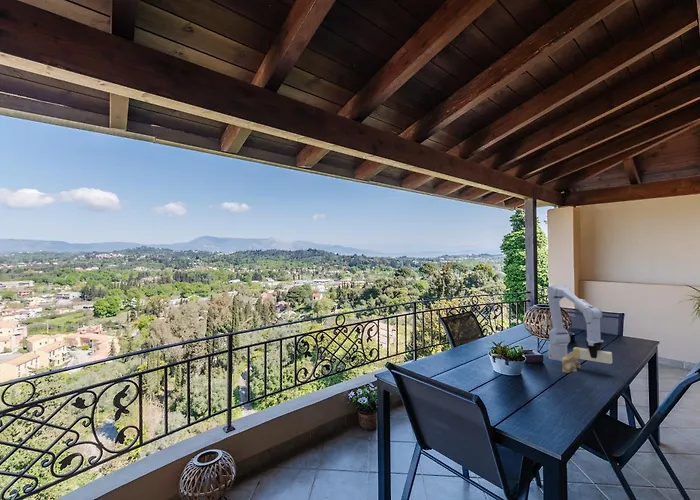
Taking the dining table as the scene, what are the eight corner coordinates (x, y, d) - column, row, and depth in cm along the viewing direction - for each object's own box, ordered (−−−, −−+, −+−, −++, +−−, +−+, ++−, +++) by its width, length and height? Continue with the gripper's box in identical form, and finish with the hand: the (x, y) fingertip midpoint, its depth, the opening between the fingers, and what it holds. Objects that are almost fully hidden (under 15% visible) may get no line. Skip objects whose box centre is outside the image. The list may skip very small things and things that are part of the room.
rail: (573, 357, 175) (572, 348, 175) (575, 356, 178) (574, 347, 178) (610, 363, 163) (610, 354, 164) (612, 362, 166) (611, 352, 166)
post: (562, 371, 173) (561, 358, 173) (571, 363, 185) (571, 351, 185) (573, 374, 169) (572, 360, 169) (582, 365, 181) (581, 353, 181)
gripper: (599, 334, 163) (601, 361, 162) (605, 329, 172) (607, 355, 172) (583, 332, 168) (584, 358, 167) (589, 327, 177) (590, 352, 177)
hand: (594, 356), depth 170 cm, fingers closed on rail, 4 cm apart
